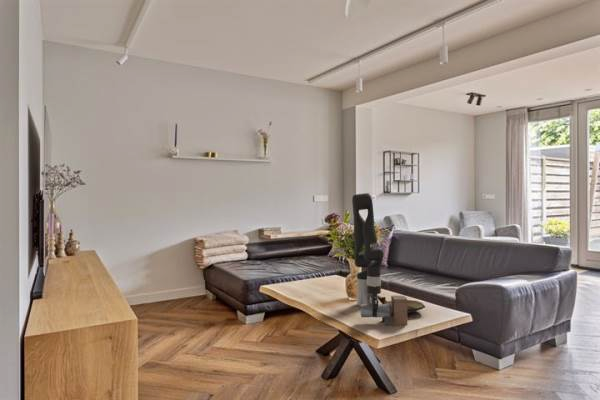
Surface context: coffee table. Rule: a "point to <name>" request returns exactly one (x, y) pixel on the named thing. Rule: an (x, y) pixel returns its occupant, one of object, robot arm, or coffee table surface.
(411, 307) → the cracked wood slice
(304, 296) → the coffee table surface
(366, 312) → the gray rectangular block
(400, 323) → the dark u-channel
